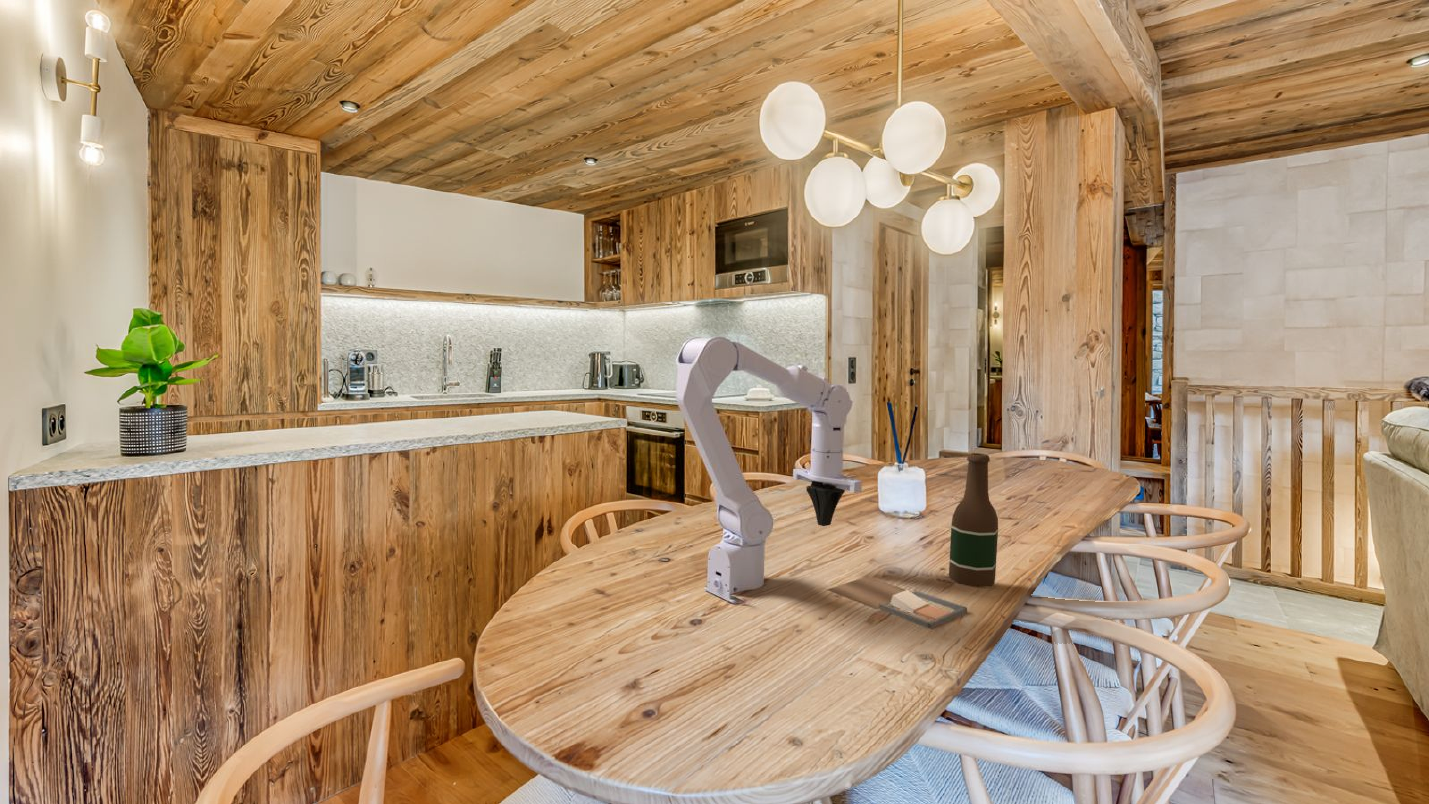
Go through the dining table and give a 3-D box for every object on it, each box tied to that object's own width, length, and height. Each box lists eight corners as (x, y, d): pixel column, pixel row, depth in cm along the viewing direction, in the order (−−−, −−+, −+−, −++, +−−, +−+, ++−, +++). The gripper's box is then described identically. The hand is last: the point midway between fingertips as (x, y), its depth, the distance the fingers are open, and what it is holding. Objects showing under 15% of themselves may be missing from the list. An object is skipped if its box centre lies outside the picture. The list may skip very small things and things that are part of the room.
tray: (930, 638, 93) (930, 623, 93) (878, 617, 100) (879, 604, 100) (966, 621, 99) (967, 607, 99) (915, 603, 106) (916, 590, 106)
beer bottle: (999, 598, 110) (1007, 459, 108) (951, 593, 111) (959, 456, 109) (989, 582, 117) (997, 452, 115) (944, 578, 119) (951, 449, 117)
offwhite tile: (911, 618, 99) (913, 609, 98) (890, 603, 102) (892, 595, 101) (925, 611, 101) (928, 603, 101) (904, 597, 104) (907, 589, 104)
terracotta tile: (937, 629, 96) (937, 619, 96) (913, 620, 99) (914, 610, 99) (951, 622, 98) (952, 612, 98) (928, 613, 101) (928, 604, 101)
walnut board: (875, 618, 100) (875, 608, 100) (826, 598, 108) (826, 589, 108) (916, 602, 107) (916, 593, 107) (867, 584, 115) (867, 576, 114)
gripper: (873, 454, 113) (870, 530, 114) (811, 443, 124) (809, 513, 125) (848, 457, 108) (844, 536, 109) (786, 446, 119) (783, 518, 120)
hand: (824, 524), depth 117 cm, fingers closed
